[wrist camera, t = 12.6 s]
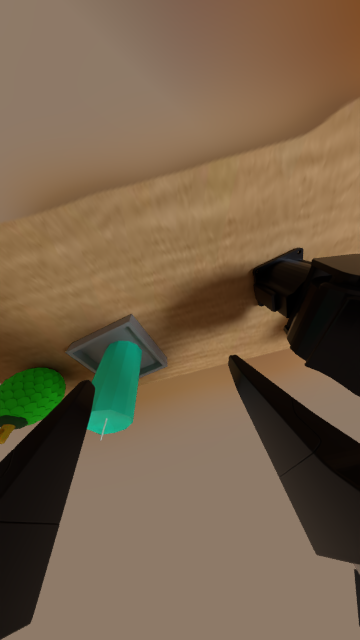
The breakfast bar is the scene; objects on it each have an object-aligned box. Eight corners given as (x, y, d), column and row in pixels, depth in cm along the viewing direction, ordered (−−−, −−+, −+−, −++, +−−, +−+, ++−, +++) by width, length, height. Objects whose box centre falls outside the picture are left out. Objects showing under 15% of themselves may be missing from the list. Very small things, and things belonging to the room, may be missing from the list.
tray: (131, 313, 21) (129, 321, 20) (166, 357, 27) (167, 366, 26) (72, 343, 23) (65, 352, 21) (117, 378, 29) (115, 387, 27)
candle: (123, 334, 22) (94, 421, 12) (149, 354, 25) (143, 437, 15) (97, 352, 24) (52, 444, 14) (125, 369, 27) (104, 454, 17)
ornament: (51, 350, 23) (-9, 420, 15) (84, 378, 28) (52, 443, 19) (8, 365, 24) (-74, 440, 15) (47, 389, 28) (1, 458, 20)
